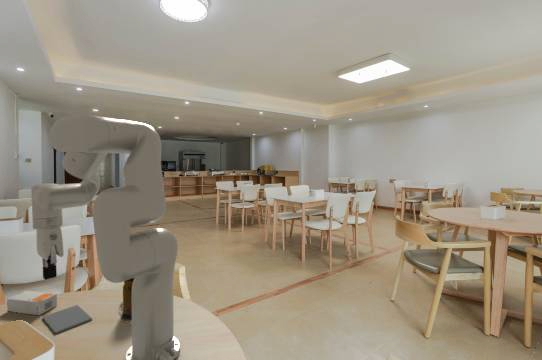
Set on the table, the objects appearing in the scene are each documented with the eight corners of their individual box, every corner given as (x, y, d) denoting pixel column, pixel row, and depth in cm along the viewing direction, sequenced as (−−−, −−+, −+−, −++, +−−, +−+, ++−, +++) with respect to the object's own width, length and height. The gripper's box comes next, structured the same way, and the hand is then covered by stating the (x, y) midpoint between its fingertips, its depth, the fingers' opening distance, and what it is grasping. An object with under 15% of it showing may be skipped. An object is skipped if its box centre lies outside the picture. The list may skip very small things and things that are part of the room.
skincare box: (39, 302, 86) (5, 299, 87) (40, 315, 86) (6, 312, 88) (57, 293, 92) (25, 290, 93) (57, 305, 92) (26, 302, 94)
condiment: (142, 304, 94) (142, 269, 93) (150, 315, 88) (149, 278, 87) (118, 311, 90) (117, 274, 89) (124, 323, 83) (123, 284, 82)
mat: (92, 320, 84) (92, 318, 84) (55, 334, 77) (55, 332, 77) (77, 306, 92) (77, 304, 92) (42, 318, 85) (42, 316, 85)
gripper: (69, 223, 88) (71, 280, 90) (54, 217, 98) (56, 268, 99) (39, 227, 83) (42, 288, 84) (26, 220, 92) (28, 275, 93)
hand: (49, 277), depth 91 cm, fingers closed
